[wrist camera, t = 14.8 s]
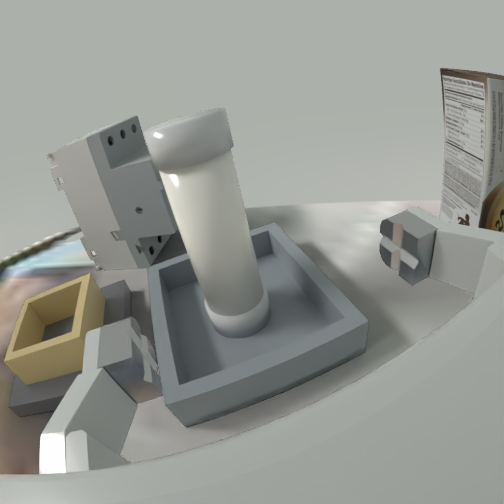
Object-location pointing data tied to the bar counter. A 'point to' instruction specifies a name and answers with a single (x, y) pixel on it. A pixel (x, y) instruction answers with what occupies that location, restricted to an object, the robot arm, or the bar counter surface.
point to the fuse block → (58, 339)
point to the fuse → (211, 217)
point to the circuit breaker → (115, 195)
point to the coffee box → (473, 149)
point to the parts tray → (257, 345)
